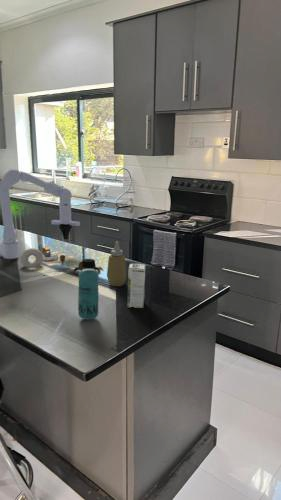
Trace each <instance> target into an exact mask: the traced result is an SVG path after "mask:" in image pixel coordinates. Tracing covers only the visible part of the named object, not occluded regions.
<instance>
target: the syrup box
mask: <svg viewBox="0 0 281 500" xmlns="http://www.w3.org/2000/svg"><path fill="white" fill-rule="evenodd" d="M127 272H128V273H127V274H128V275H127V278H128V279H127V281H128V282H127V297H126V298H127V299H126V301H127V303H126V305H127V306H126V307H127V308H131V307H134V308H137V309H138V308H139V309H143V308H144V304H145V303H144V302H145V286H146V285H145V284H146V283H145V281H146V264H143V263H130V264H129V266H128V271H127Z"/></svg>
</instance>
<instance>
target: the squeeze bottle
mask: <svg viewBox="0 0 281 500" xmlns="http://www.w3.org/2000/svg"><path fill="white" fill-rule="evenodd" d="M114 243H115V244H114V247H113V249H112V250H110V255H109V256H108V262H107V271H106V277H107V281H108V284H109V286H112V287H122V286H124V285H125V282H126V279H127V267H126V256H125V255H123V253H124V251H123V249H121V247H120V242H119V241H117V240H116V241H115V242H114Z"/></svg>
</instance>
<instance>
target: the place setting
mask: <svg viewBox="0 0 281 500" xmlns="http://www.w3.org/2000/svg"><path fill="white" fill-rule="evenodd" d="M60 261H61V262H62V263H61V264H65V263H64V261H65V255H60ZM83 269H94V270H96V271H97V272H98V274H100V271H103V272H105V270H104V269H103V267H100V266H98V267H97V266H95V267H94V268H83V267H82V261H80V262H78V266H77V267H75V268H73V271H72V272H73V273H74V274H75V275H77V276H79V275H78V274H79V272H80V271H81V270H83ZM78 271H79V272H78Z"/></svg>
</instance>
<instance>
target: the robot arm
mask: <svg viewBox="0 0 281 500" xmlns="http://www.w3.org/2000/svg"><path fill="white" fill-rule="evenodd" d="M20 181H21V182H23V183H24V182H29V183H31V184H33V185H36V186H38V187H40V188H43V191H44V192H45V193H46V194H47V193H48V194H50V195H51V196H53V197H56V198H59V203H58V204H59V207H58V208H59V220H58V219H52V220H51V225H57V226H58V225H59V226H58V228H59V229H60V231H61V233H62V236H63V240H68V239H69V235H70V232H71V230H72V227H73V226H74V227H75V226H76V227H79V226H81V222H80V221H77V220H76V221H74V220H72V203H71V201H72V200H71V199H72V196H73V195H72V192H71V190H70V189H68V188H67V187H65V186H63V185H59V184H57V183H55V181H53V180H52V181H51V180H48V181H44V180H42V179H41V178H38V177H36V176H35V175H32V174H30V173H28V172H26V171H23V170H19V169H16V168H11V169H9V170H8V171H7V172H6V173H5V174H4V175H3V177H2V179H1V181H0V208H1V216H2V222H3V223H2V224H3V233H2V234H3V235H2V239H3V240H2V242H1V243H0V257H3V259H6V260H7V259H8V260H12V259H18V258H19V257H20V251H19V250H20V249H19V248H20V247H19V240H18V237H17V236H18V232H17V230H16V228H15V224H14V219H13V211H12V205H11V196H10V195H11V194H10V189H11V188H13V186H15V185H17V183H19V182H20Z"/></svg>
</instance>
